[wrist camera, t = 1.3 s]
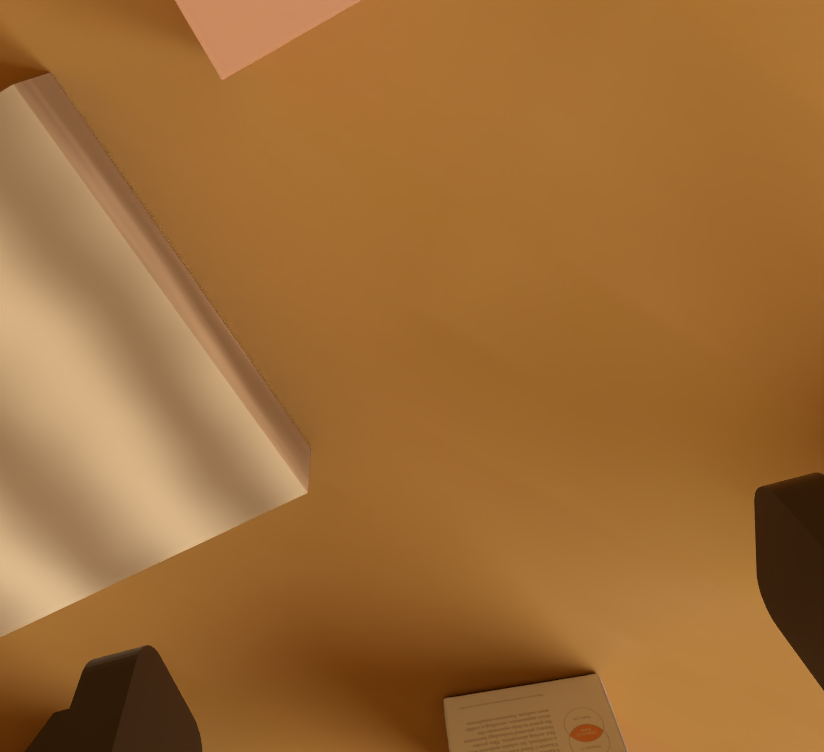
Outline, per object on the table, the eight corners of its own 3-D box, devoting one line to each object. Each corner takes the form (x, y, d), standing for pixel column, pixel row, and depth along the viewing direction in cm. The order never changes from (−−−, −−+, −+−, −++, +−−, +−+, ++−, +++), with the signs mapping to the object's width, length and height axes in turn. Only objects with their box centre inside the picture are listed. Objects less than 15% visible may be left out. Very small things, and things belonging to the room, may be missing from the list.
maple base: (50, 72, 24) (13, 84, 21) (311, 448, 31) (307, 492, 28) (-330, 300, 26) (-406, 336, 24) (-9, 601, 33) (-40, 655, 31)
